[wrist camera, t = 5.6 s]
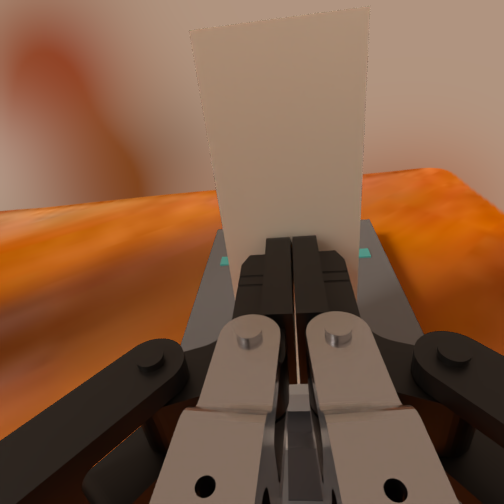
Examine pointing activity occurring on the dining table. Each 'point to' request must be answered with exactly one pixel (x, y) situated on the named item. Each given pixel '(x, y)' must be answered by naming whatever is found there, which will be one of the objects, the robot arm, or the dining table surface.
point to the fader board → (371, 311)
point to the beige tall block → (287, 134)
